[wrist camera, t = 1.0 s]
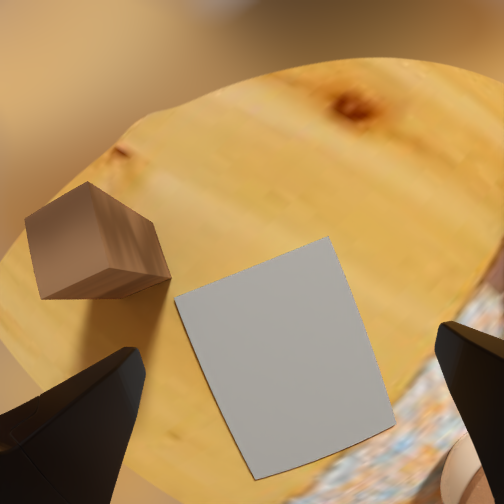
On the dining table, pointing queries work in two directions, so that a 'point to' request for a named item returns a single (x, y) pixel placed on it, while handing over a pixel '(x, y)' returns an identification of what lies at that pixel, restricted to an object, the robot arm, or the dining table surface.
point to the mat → (288, 359)
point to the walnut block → (93, 247)
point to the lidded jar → (464, 476)
